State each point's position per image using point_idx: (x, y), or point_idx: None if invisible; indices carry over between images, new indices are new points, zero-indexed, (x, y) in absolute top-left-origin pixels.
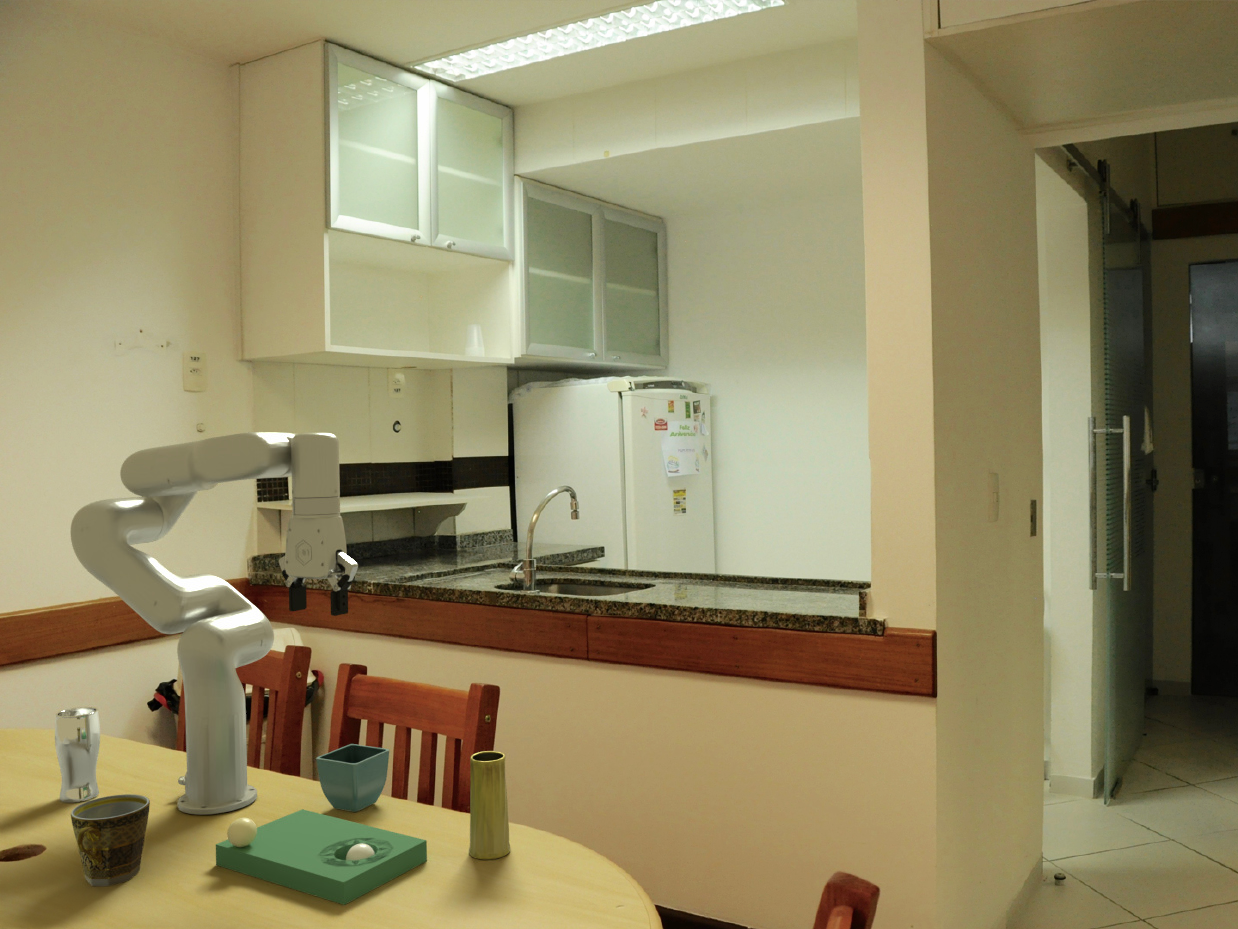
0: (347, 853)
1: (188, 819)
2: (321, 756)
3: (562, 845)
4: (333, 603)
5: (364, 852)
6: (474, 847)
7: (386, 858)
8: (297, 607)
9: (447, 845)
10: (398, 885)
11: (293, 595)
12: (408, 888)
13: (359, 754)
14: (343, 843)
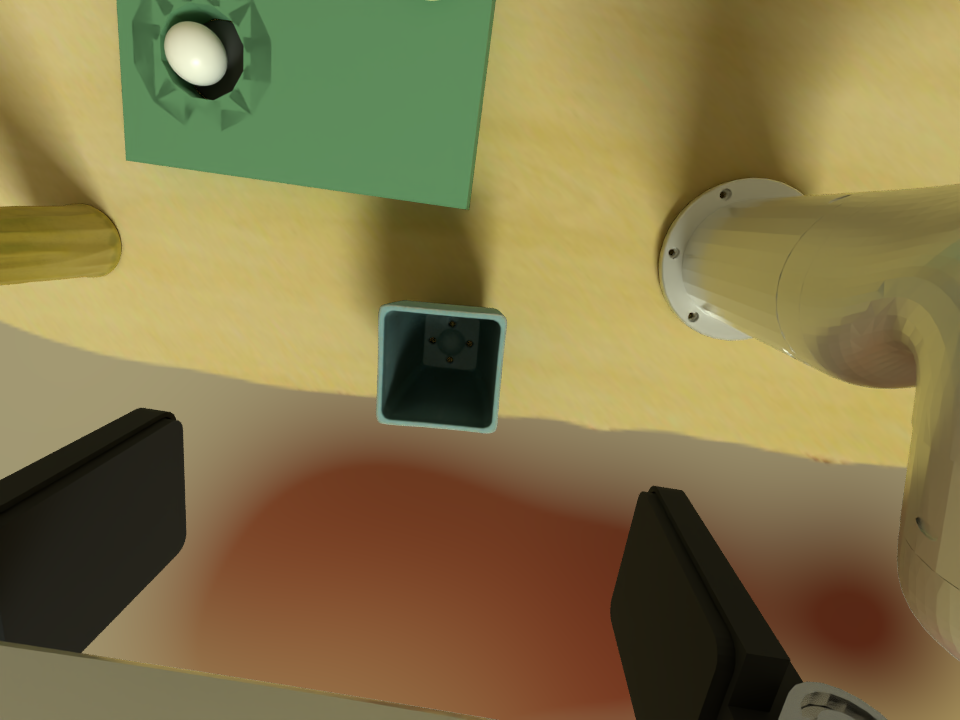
0: (205, 32)
1: (733, 160)
2: (500, 332)
3: (7, 310)
4: (62, 454)
5: (165, 36)
6: (76, 207)
7: (126, 48)
8: (636, 546)
9: (170, 240)
10: None
11: (685, 593)
12: (98, 46)
13: (467, 417)
14: (254, 79)
